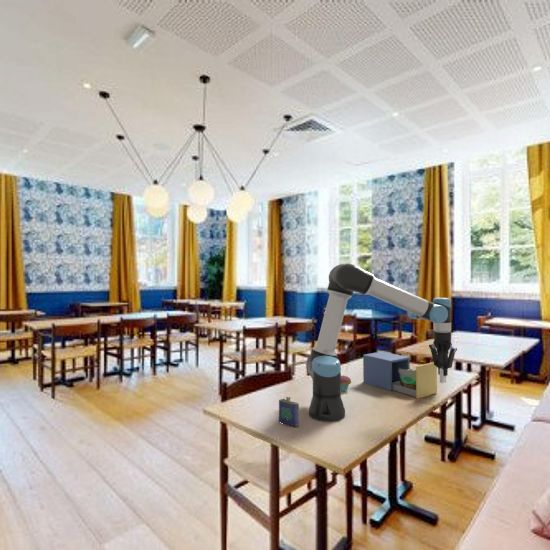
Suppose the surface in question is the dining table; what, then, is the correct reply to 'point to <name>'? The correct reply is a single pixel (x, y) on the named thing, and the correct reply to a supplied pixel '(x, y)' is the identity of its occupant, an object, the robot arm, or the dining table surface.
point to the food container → (408, 378)
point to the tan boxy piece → (421, 382)
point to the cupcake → (345, 382)
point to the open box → (383, 368)
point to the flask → (289, 412)
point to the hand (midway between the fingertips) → (442, 382)
